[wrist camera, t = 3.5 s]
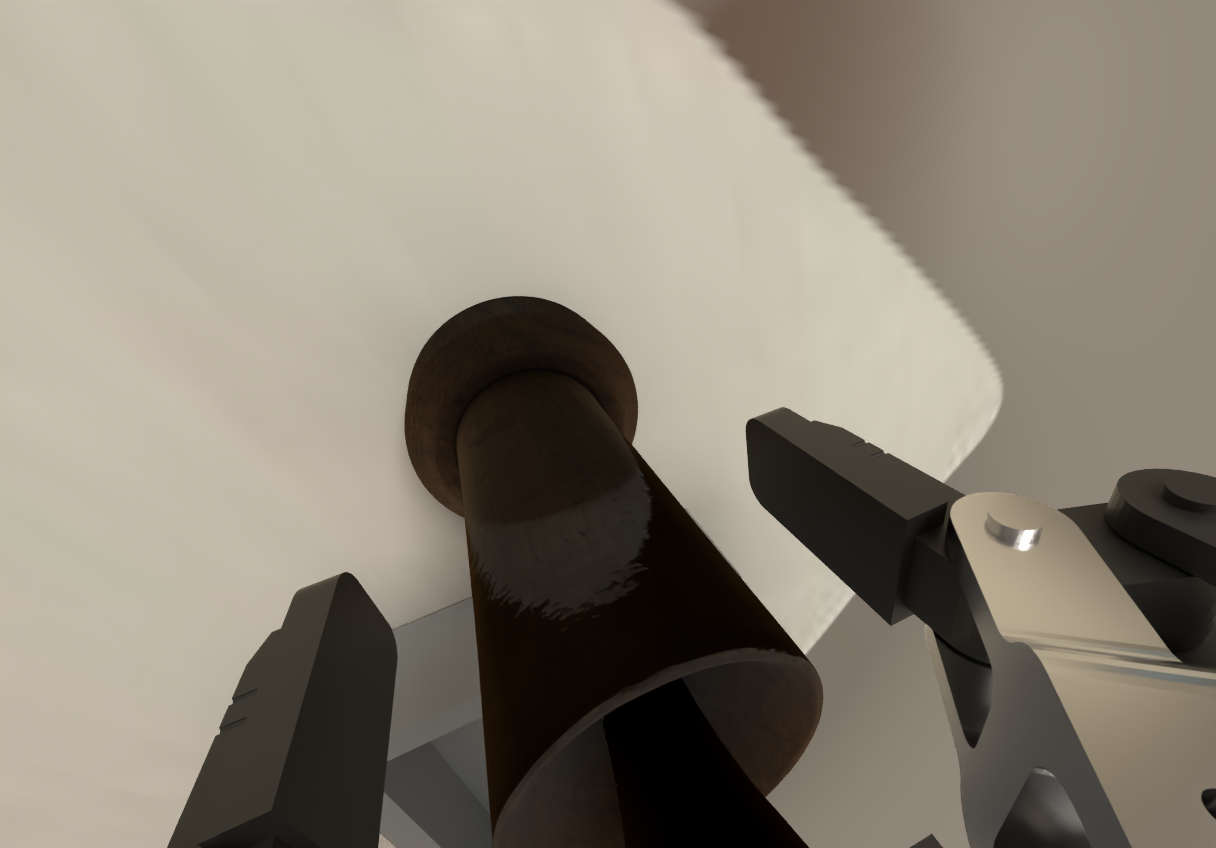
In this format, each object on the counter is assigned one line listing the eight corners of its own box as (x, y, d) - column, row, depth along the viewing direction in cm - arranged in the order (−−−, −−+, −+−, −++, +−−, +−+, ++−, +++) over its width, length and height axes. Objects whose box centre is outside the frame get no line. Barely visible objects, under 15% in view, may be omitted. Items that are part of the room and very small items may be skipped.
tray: (476, 814, 23) (482, 921, 19) (338, 652, 16) (310, 773, 13) (715, 693, 25) (758, 768, 22) (685, 508, 19) (740, 576, 15)
